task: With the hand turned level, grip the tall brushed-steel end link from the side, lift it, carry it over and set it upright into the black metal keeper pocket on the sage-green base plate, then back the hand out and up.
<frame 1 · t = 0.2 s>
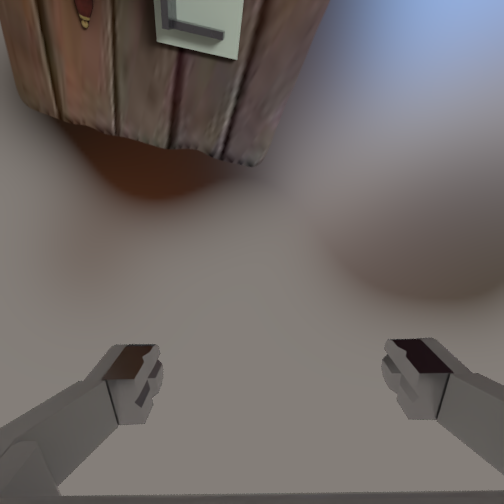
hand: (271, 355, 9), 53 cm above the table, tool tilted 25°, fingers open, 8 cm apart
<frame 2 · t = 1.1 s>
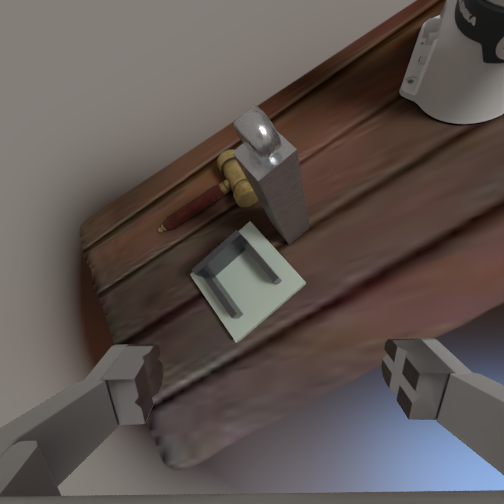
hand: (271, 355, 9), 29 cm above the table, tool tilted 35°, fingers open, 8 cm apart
keeper bracket: (246, 279, 41), on the table
steel link: (291, 226, 41), on the table
gavel: (206, 207, 48), on the table
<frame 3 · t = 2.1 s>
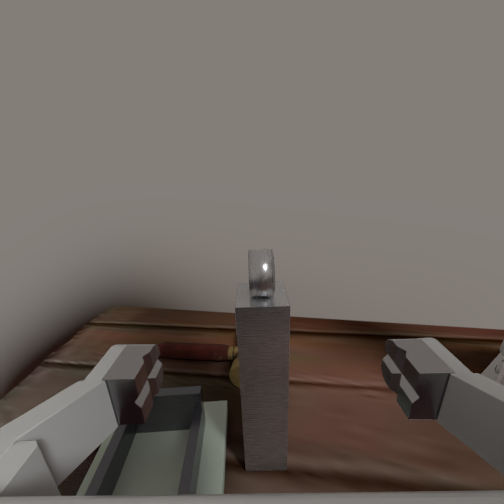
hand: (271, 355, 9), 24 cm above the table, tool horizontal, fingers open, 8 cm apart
keeper bracket: (159, 474, 26), on the table
steel link: (265, 448, 28), on the table
gavel: (204, 360, 42), on the table
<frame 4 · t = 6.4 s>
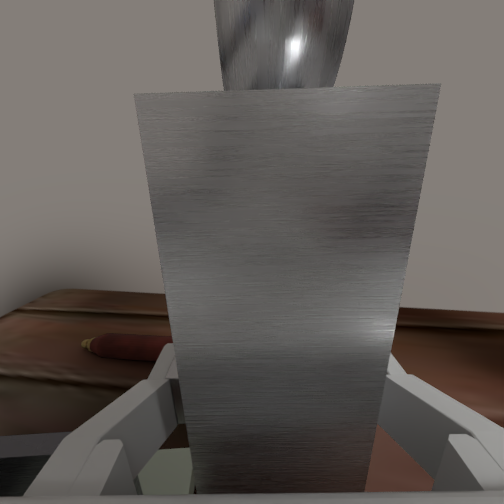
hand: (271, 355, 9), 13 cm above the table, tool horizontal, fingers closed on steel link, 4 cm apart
gavel: (167, 363, 26), on the table
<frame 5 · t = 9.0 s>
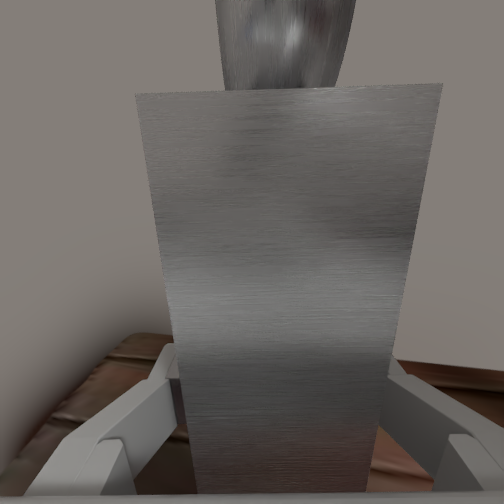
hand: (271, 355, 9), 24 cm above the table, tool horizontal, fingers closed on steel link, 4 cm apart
when the fingers open (15 cm above the table, at t = 11.5 s): steel link stays where it is, resting on keeper bracket.
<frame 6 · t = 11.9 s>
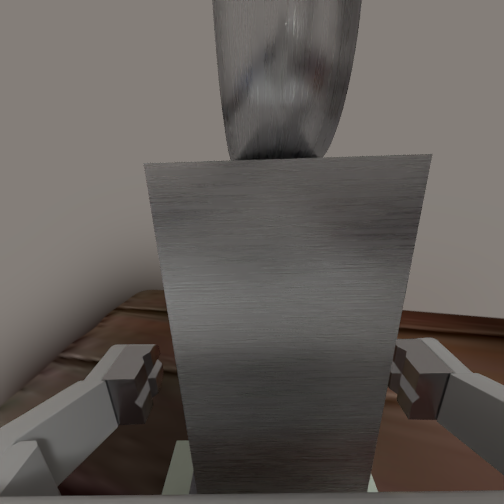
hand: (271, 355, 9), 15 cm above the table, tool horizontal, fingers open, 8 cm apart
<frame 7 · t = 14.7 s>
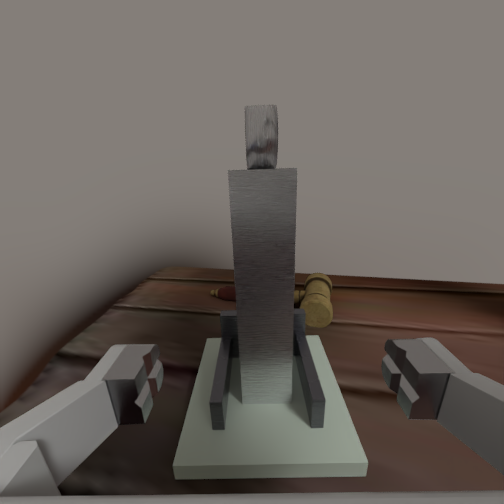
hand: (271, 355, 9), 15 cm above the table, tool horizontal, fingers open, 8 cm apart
keeper bracket: (265, 394, 25), on the table
steel link: (265, 383, 24), point 1 cm above the table, touching keeper bracket
gavel: (267, 305, 42), on the table
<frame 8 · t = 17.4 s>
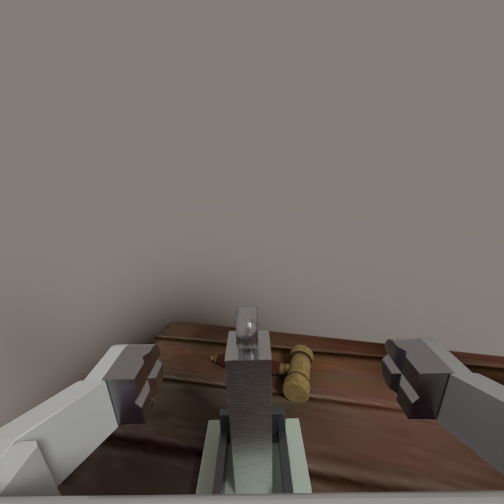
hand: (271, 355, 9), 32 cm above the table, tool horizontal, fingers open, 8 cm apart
keeper bracket: (253, 479, 32), on the table
steel link: (254, 472, 31), point 1 cm above the table, touching keeper bracket
gavel: (257, 372, 49), on the table
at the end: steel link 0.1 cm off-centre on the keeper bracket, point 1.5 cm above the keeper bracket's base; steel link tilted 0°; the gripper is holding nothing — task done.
